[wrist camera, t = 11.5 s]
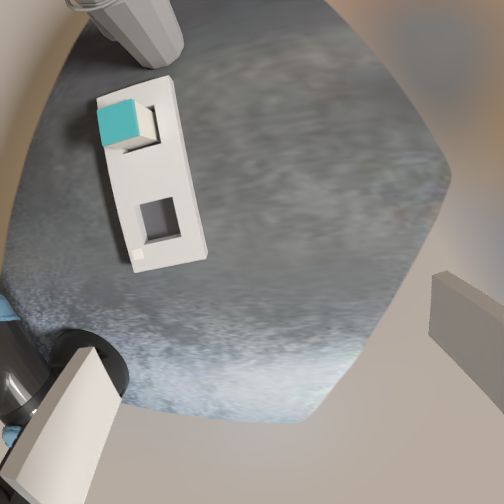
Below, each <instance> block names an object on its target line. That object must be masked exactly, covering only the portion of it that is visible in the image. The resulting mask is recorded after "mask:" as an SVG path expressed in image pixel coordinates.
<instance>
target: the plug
mask: <svg viewBox="0 0 504 504" xmlns="http://www.w3.org/2000/svg"><path fill="white" fill-rule="evenodd" d="M97 116H98V123H99V130H100V136H101V142H102V146H106V147H115V148H124V149H135V148H139V147H142V146H146V145H149V144H153V143H157V142H160V139H159V133H158V128H157V122H156V117H155V113H154V112H152V111H151V110H149V109H147V108H146V107H144V106H143V105H141V104H140V103H138V102H136V101H135V100H133V99H128V100H127V99H126V98H123V99H120V100H117V101H114V102H112V103H109V104H108V107H105V108H102V109H99V110H97Z"/></svg>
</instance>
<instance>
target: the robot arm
mask: <svg viewBox="0 0 504 504" xmlns="http://www.w3.org/2000/svg"><path fill="white" fill-rule="evenodd" d="M20 320H21V319H20V317H18V316H17V315H16V313H15V312H14V310H13V309H12V307H11V305H10V304H9V302H8V300H7V299H6V298H5V297H4V296H3V295H1V294H0V420H1V421H2V422H3V423H4V425H5V427H4V428H3V432H2V438H3V440H4V441H5V444H6V446H7V447H8V448H9V450H8V452H7V453H6V455H5V457H4V459H3V460H2V462H1V464H0V504H84V502H85V499H86V496H87V493H88V490H89V487H90V483H91V481H92V478H93V475H94V472H95V469H96V466H97V463H98V461H99V458H100V455H101V452H102V450H103V447H104V444H105V441H106V439H107V436H108V433H109V431H110V428H111V425H112V423H113V420H114V418H115V415H116V413H117V410H118V407H119V405H120V402H121V400H122V399H121V398H122V396H123V395H124V393H125V391H126V388H127V386H128V383H129V372H128V368H127V365H126V363H125V361H124V360H123V358H122V356H121V355H120V354H119V352H118V351H117V350H116V349H115V348H114V347H113V346H112V345H111V344H110V343H108V342H107V341H106V340H104V339H103V338H101V337H99V336H97V335H95V334H93V333H90V332H87V331H82V330H71V331H68V332H65V333H63V334H62V335H61V336H60V337H59V338H58V339H57V340H56V342H55V343H54V344H53V346H52V348H51V352H50V358H49V361H48V363H47V362H46V360H45V359H44V358H43V356H42V355H41V353H40V352H39V350H38V349H37V347H36V346H35V344H34V343H33V341H32V339H31V338H30V336H29V334H28V333H27V331H26V330H25V328H24V326H23V324H22V323H21V321H20ZM429 336H430V337H431V338H432V339H433V340H434V341H435V342H436V343H437V344H438V345H439V346H440V347H441V348H442V349H443V350H444V351H445V352H446V353H447V354H448V355H449V356H450V357H451V358H452V359H453V360H454V361H455V362H456V363H457V364H458V365H459V366H460V367H461V368H462V369H463V370H464V371H465V372H466V374H467V375H468V376H469V377H470V378H471V379H472V380H473V381H474V382H475V383H476V384H477V385H478V386H479V387H480V388H481V389H482V390H483V391H484V392H485V394H486V395H487V396H488V397H489V398H490V399H491V400H492V401H493V403H494V404H495V405H496V406H497V407H498V408H499V409H500V410H501V411H502V412H503V414H504V306H503V305H502V304H500V303H498V302H497V301H495V300H494V299H492V298H491V297H489V296H488V295H486V294H484V293H483V292H481V291H480V290H478V289H476V288H475V287H473V286H471V285H470V284H468V283H466V282H465V281H463V280H462V279H460V278H458V277H457V276H455V275H453V274H451V273H449V272H448V271H444V272H441V273H438V274H435V275H432V292H431V309H430V322H429Z"/></svg>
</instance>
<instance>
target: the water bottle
mask: <svg viewBox="0 0 504 504" xmlns="http://www.w3.org/2000/svg"><path fill="white" fill-rule="evenodd" d="M65 1H66V4H67V6H68V7H69V8H70V9H72V10H73V11H75V12H87V14H88V15H89V16H90V18H91V19H92V21H93V22H94V23H95V25H96V26H97V27H98V29H99V30H100V31H101V33H102V34H103V35H104V36H105V37H107V38H108V39H110V40H112V41H118V42H119V43H120V44H121V45H122V46H123V47H124V48H125V49H126V50H127V51H128V52H129V53H130V54H131V55H132V56H133V57H134V58H135V59H136V60H137V61H138V62H139V63H140V64H141V65H142V66H143V67H147V68H152V69H157V68H161V67H164V66H168V65H169V64H171V63H172V62H173V61H174V60H176V59H177V58H178V57H179V56H180V53H181V51H182V49H183V47H184V41H183V35H182V32H181V30H180V27H179V25H178V22H177V20H176V17H175V14H174V12H173V9H172V7H171V4H170V2H169V0H75V1H76V2H77V3H78V4H80V5H81V6H82V7H83V8H84V9H82V8H77V7H75V6H73V5H72V4H71V3H70V1H69V0H65ZM104 28H105V29H106V30H107V31H108V32H107V31H106V30H105V29H104Z"/></svg>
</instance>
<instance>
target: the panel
mask: <svg viewBox="0 0 504 504" xmlns="http://www.w3.org/2000/svg"><path fill="white" fill-rule="evenodd" d="M123 98H126V99H127V100H128V99H133V100H135V101H136V102H138V103H140V104H141V105H143V106H144V107H146V108H147V109H149V110H151V111H152V112H154V113H155V117H156V122H157V128H158V133H159V139H160V142H157V143H153V144H149V145H146V146H142V147H139V148H135V149H124V148H115V147H106V146H104V150H105V156H106V161H107V166H108V171H109V176H110V181H111V185H112V190H113V194H114V199H115V203H116V207H117V211H118V215H119V219H120V223H121V227H122V231H123V235H124V238H125V242H126V246H127V249H128V253H129V256H130V260H131V263H132V266H133V270H134V273H137V272H142V271H147V270H152V269H157V268H162V267H167V266H172V265H177V264H182V263H187V262H192V261H197V260H202V259H206V257H207V253H208V251H207V246H206V242H205V238H204V233H203V229H202V225H201V220H200V216H199V211H198V207H197V202H196V197H195V193H194V188H193V183H192V178H191V174H190V169H189V164H188V159H187V154H186V149H185V144H184V139H183V133H182V128H181V123H180V117H179V112H178V107H177V101H176V95H175V90H174V84H173V80H172V79H171V78H170V76H169V75H168V76H164V77H161V78H157V79H153V80H150V81H147V82H143V83H140V84H137V85H134V86H131V87H128V88H125V89H122V90H119V91H116V92H113V93H110V94H107V95H105V96H102V97H99V98H97V106H98V110H99V109H102V108H105V107H108V104H109V103H112V102H114V101H117V100H120V99H123Z"/></svg>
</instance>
